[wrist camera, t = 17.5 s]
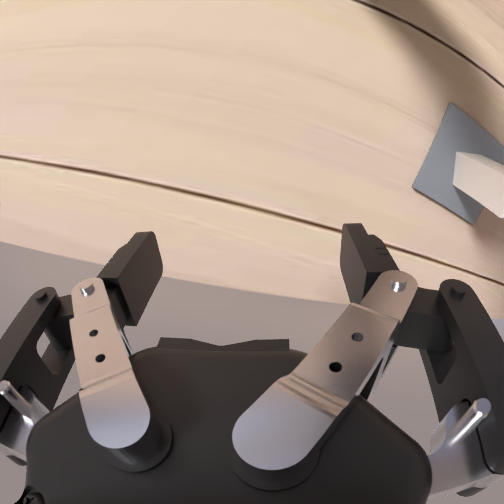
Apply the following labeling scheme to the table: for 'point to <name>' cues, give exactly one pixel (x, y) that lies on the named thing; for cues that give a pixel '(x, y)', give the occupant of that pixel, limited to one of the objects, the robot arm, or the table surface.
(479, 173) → the cream block
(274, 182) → the table surface
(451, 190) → the grey mat
